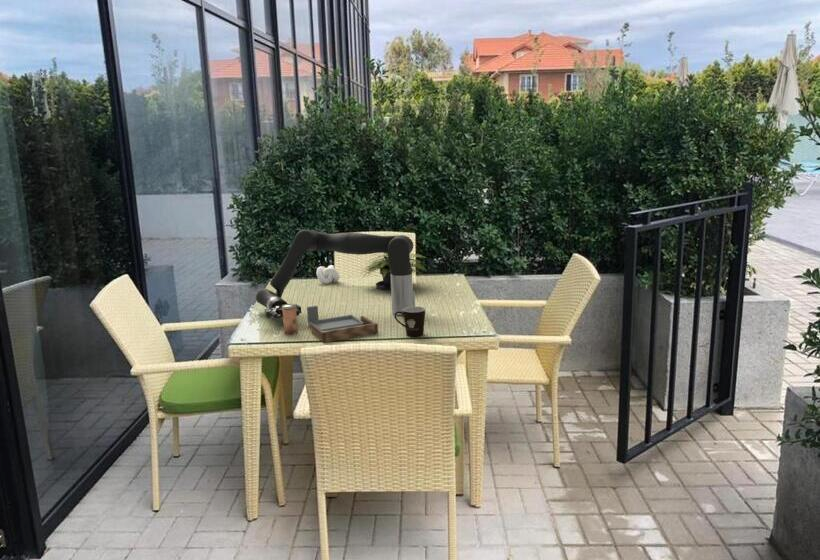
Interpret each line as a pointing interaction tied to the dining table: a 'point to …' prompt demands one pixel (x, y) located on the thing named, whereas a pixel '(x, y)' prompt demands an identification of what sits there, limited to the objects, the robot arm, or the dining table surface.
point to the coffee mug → (413, 321)
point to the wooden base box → (345, 331)
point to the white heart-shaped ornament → (327, 274)
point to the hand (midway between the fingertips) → (287, 315)
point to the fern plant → (388, 270)
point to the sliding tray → (331, 320)
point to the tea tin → (289, 318)
